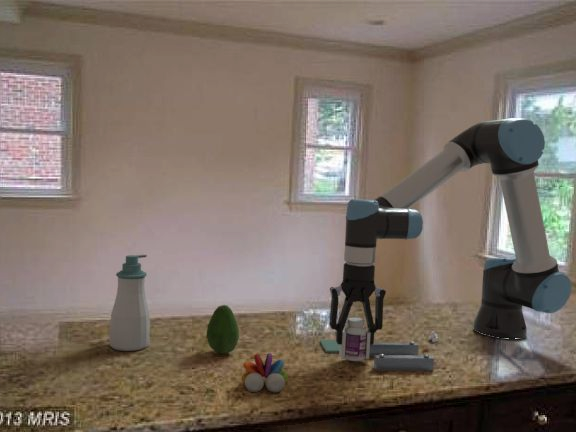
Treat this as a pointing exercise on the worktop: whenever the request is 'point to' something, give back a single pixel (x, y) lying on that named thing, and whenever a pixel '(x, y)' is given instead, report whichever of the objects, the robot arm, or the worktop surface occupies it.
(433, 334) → the adhesive hook
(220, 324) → the avocado
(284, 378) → the rainbow fan toy
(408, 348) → the channel
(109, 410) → the worktop surface
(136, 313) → the soap bottle
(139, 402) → the worktop surface
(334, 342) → the pad
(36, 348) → the worktop surface
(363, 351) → the pill bottle
